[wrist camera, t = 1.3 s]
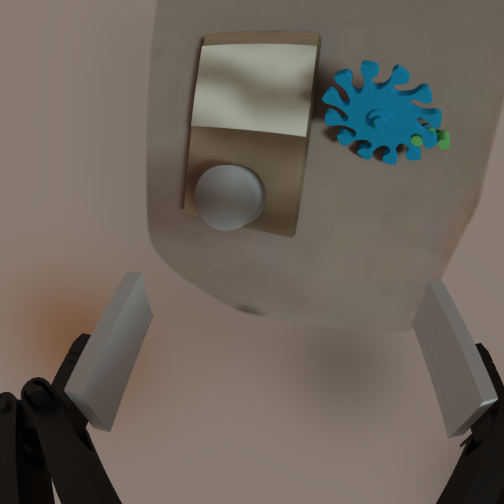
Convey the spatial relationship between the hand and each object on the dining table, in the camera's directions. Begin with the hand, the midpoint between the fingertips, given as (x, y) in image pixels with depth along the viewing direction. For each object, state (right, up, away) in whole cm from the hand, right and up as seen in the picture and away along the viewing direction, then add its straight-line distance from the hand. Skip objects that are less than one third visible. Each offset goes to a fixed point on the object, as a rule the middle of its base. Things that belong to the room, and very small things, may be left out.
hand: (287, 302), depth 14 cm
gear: (+11, +14, +12) cm, 21 cm away
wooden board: (-2, +15, +16) cm, 22 cm away
